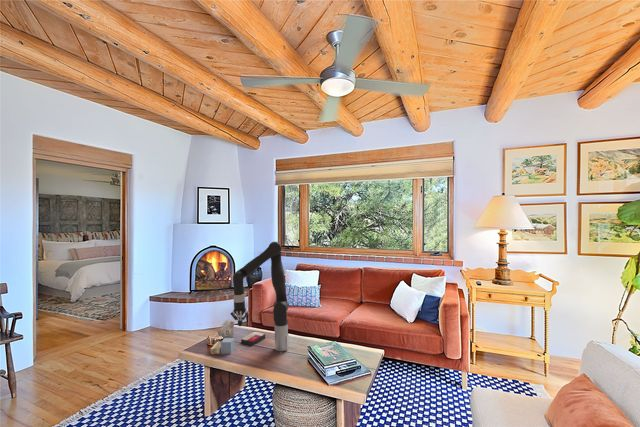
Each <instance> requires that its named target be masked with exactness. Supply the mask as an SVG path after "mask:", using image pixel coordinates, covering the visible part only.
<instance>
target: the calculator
mask: <svg viewBox="0 0 640 427" xmlns="http://www.w3.org/2000/svg"><path fill="white" fill-rule="evenodd" d="M265 339H266V334H265V333H262V332H256V331H254V332H251V333H250V334H248V335H246V336H244V337H243V338H241V340H240V344H242V345H247V346H252V347H253V346H255V345H257V344H258V343H260V342H262V341H264V340H265Z"/></svg>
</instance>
